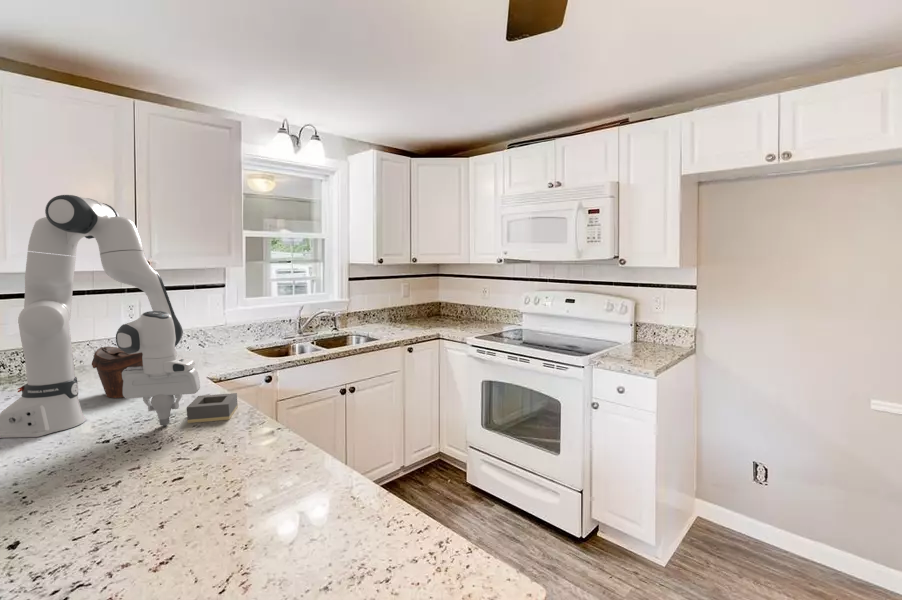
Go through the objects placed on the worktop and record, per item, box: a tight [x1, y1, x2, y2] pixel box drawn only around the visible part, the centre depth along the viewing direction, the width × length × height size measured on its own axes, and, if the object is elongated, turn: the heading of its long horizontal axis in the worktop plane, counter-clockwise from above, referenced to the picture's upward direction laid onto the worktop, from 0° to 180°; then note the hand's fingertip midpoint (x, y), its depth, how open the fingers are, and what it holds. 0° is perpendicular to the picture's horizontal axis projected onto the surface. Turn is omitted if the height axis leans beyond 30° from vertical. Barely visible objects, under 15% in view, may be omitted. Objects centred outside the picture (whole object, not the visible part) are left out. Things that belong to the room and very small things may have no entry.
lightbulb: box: [150, 394, 176, 427], centre depth 140 cm, size 6×6×11 cm
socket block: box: [186, 392, 239, 424], centre depth 150 cm, size 12×12×5 cm
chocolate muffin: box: [91, 346, 143, 399], centre depth 174 cm, size 18×20×18 cm
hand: (163, 409), depth 140 cm, fingers closed on lightbulb, 5 cm apart
